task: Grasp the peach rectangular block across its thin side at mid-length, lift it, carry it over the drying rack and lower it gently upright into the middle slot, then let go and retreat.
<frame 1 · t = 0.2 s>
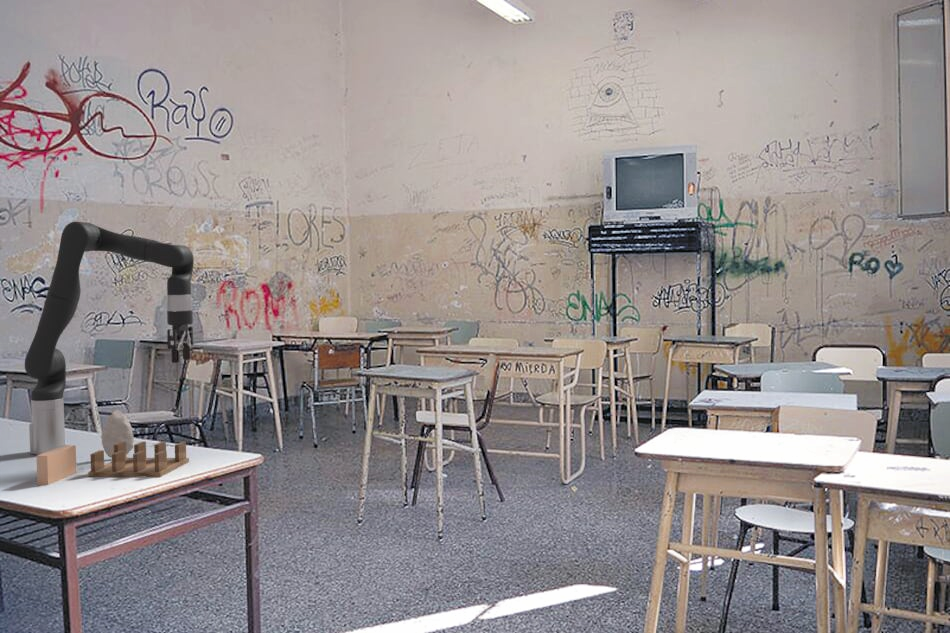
hand: (181, 361, 270), 29 cm above the table, tool pointing down, fingers open, 8 cm apart
stone tool: (118, 458, 265), on the table
drying rack: (140, 468, 250), on the table
peach rectangular block: (57, 478, 240), on the table
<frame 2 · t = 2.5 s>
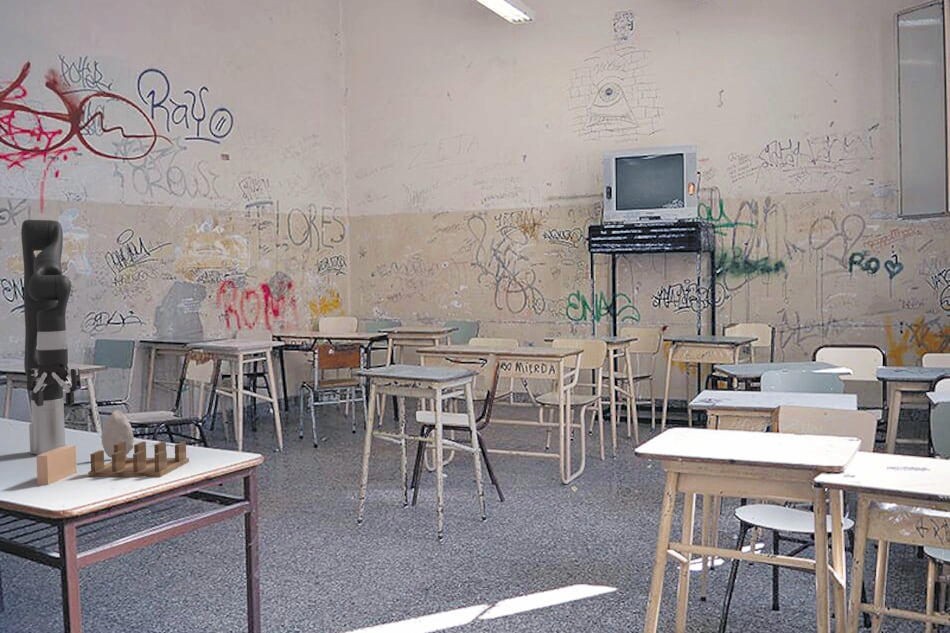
hand: (54, 405, 239), 20 cm above the table, tool pointing down, fingers open, 8 cm apart
nothing on the table moved.
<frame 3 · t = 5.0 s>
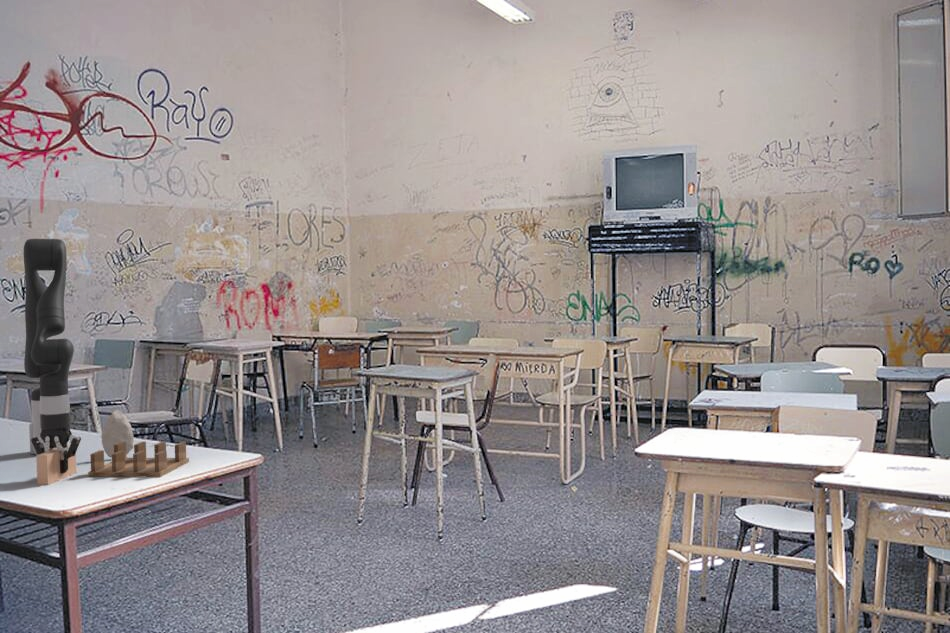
hand: (57, 472, 240), 2 cm above the table, tool pointing down, fingers closed on peach rectangular block, 3 cm apart
peach rectangular block: (57, 478, 240), on the table, touching gripper
everything else where it was.
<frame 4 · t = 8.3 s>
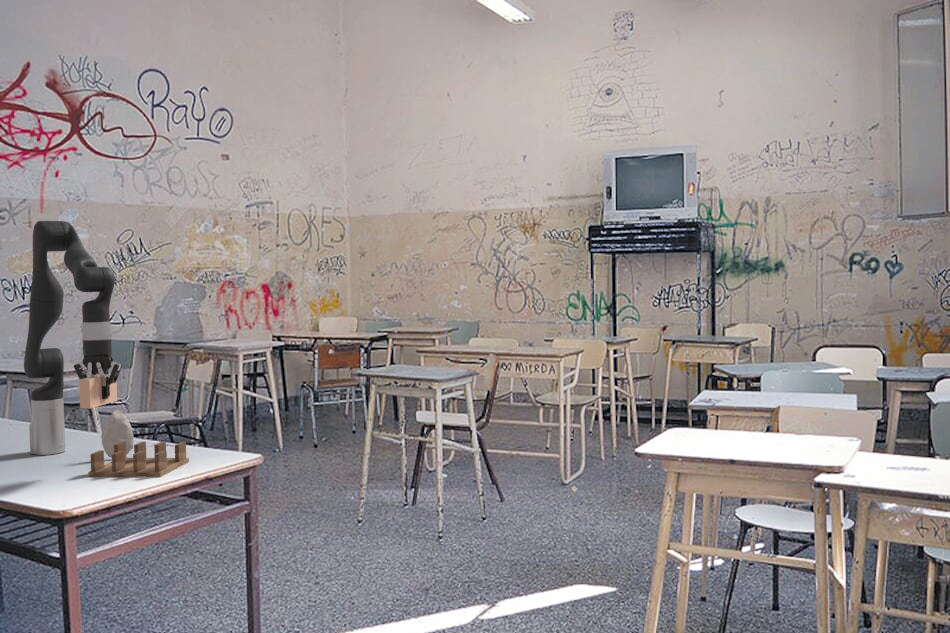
hand: (99, 398, 244), 21 cm above the table, tool pointing down, fingers closed on peach rectangular block, 3 cm apart
peach rectangular block: (99, 404, 244), point 20 cm above the table, touching gripper
everything else where it was.
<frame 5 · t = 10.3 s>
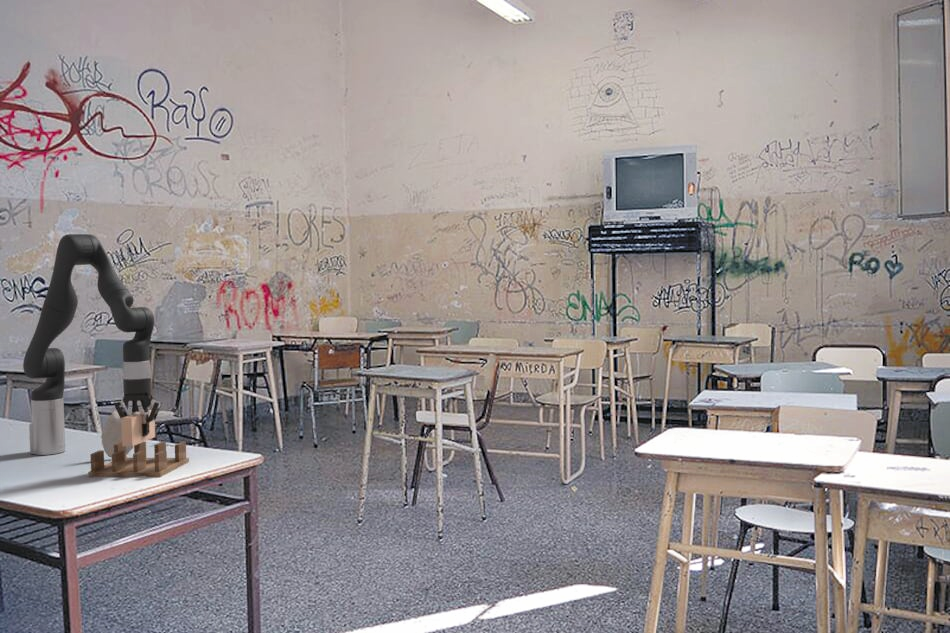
hand: (139, 435, 250), 10 cm above the table, tool pointing down, fingers closed on peach rectangular block, 3 cm apart
peach rectangular block: (139, 441, 250), point 8 cm above the table, touching gripper
everything else where it was.
when the fingers open (4 cm above the table, at t = 11.9 s): peach rectangular block drops 1 cm, resting on drying rack.
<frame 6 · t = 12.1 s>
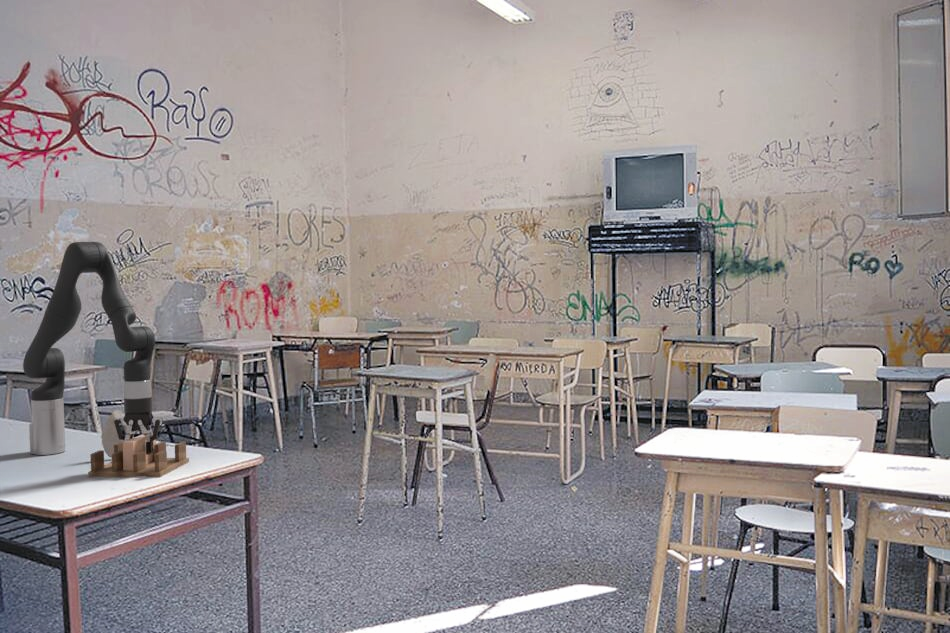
hand: (139, 453, 250), 4 cm above the table, tool pointing down, fingers open, 5 cm apart
peach rectangular block: (140, 464, 250), point 1 cm above the table, touching drying rack
everything else where it was.
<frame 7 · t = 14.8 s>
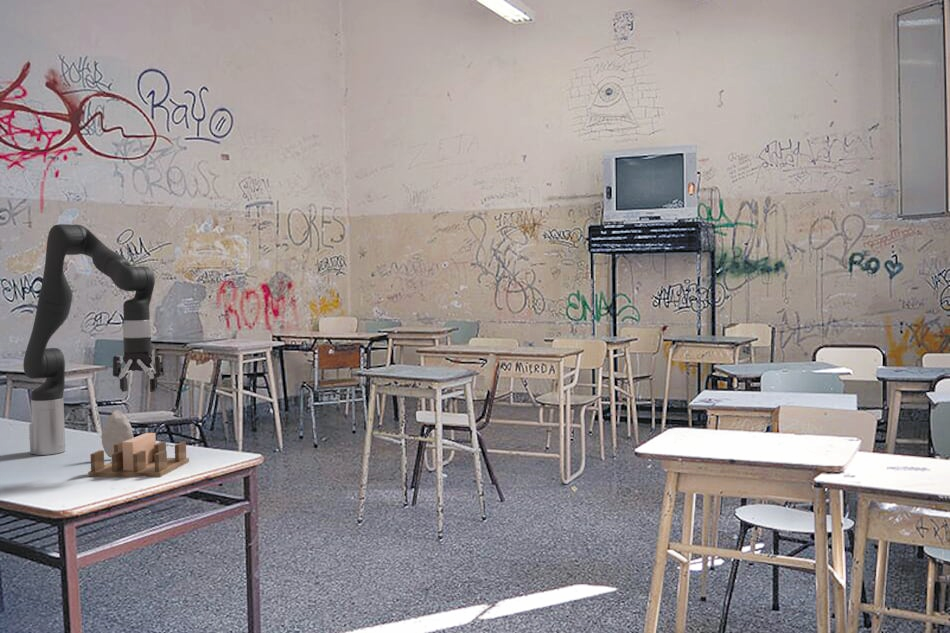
hand: (138, 391, 250), 22 cm above the table, tool pointing down, fingers open, 8 cm apart
nothing on the table moved.
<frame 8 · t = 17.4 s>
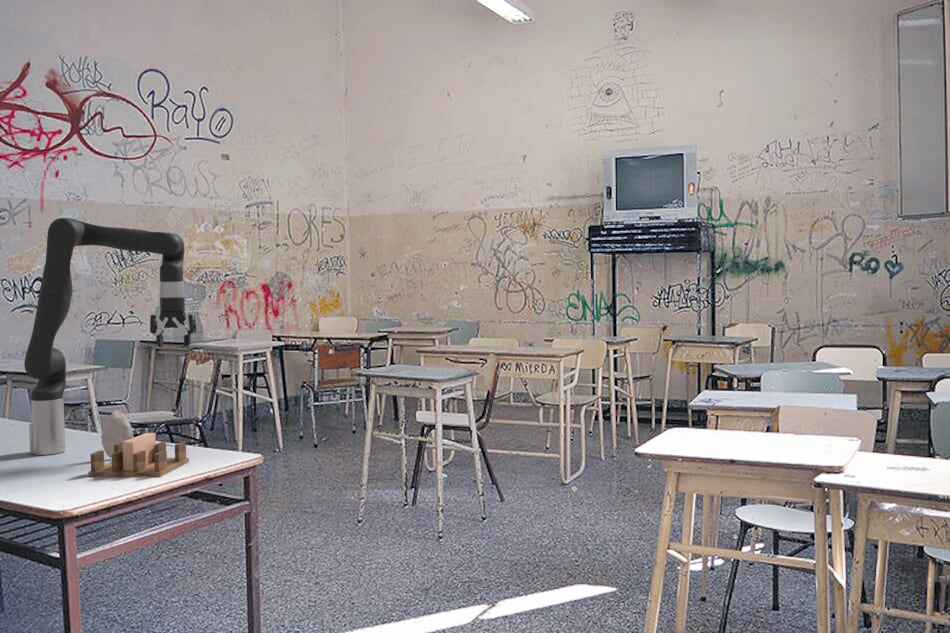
hand: (173, 346, 275), 33 cm above the table, tool pointing down, fingers open, 8 cm apart
nothing on the table moved.
at the end: peach rectangular block 0.1 cm off-centre on the drying rack, point 1.2 cm above the drying rack's base; peach rectangular block tilted 0°; the gripper is holding nothing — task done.
